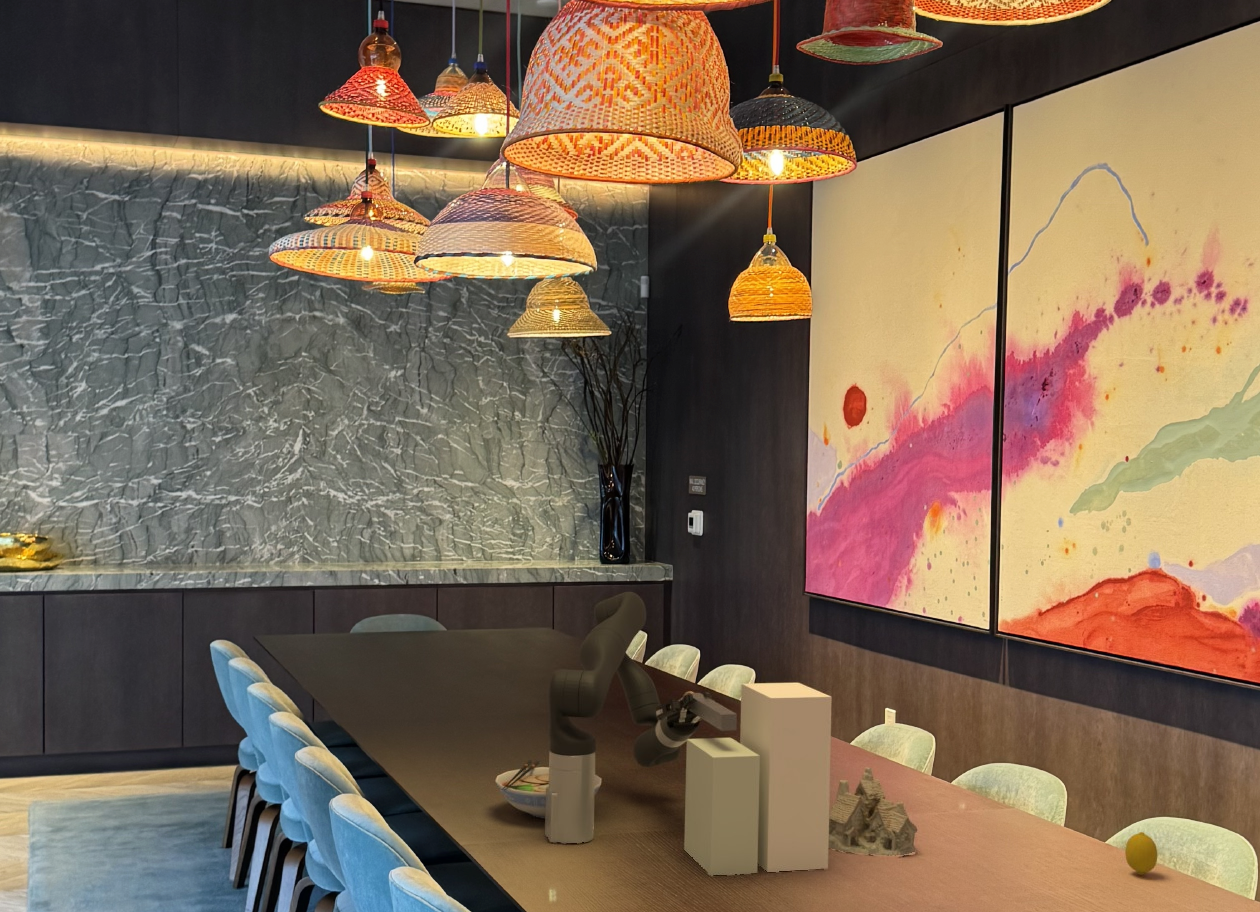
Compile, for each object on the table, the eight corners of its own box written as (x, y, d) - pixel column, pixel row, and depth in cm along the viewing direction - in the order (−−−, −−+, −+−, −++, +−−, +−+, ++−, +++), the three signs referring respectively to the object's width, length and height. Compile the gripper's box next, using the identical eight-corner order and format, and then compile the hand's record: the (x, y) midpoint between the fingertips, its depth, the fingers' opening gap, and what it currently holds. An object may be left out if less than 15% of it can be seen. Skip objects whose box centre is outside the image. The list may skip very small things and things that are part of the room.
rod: (721, 730, 231) (721, 714, 231) (682, 706, 254) (682, 691, 254) (736, 730, 231) (736, 714, 231) (696, 705, 255) (696, 691, 255)
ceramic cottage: (811, 839, 250) (818, 765, 249) (880, 835, 256) (887, 763, 255) (853, 867, 235) (860, 789, 235) (925, 862, 241) (932, 786, 241)
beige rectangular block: (710, 876, 225) (713, 757, 225) (684, 850, 240) (686, 739, 241) (757, 873, 227) (759, 755, 227) (728, 848, 243) (730, 737, 243)
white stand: (767, 873, 228) (771, 698, 228) (737, 847, 243) (741, 683, 244) (827, 869, 231) (831, 696, 231) (794, 844, 246) (798, 682, 247)
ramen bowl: (586, 834, 249) (587, 793, 249) (477, 825, 254) (479, 785, 254) (612, 803, 274) (613, 766, 274) (513, 795, 278) (514, 759, 279)
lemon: (1148, 870, 235) (1149, 828, 235) (1162, 880, 229) (1163, 836, 229) (1120, 870, 234) (1120, 827, 235) (1132, 879, 229) (1133, 836, 229)
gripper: (642, 708, 262) (664, 680, 248) (705, 706, 266) (730, 678, 252) (646, 743, 259) (668, 716, 244) (710, 741, 262) (735, 714, 248)
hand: (699, 697), depth 248 cm, fingers closed on rod, 3 cm apart
